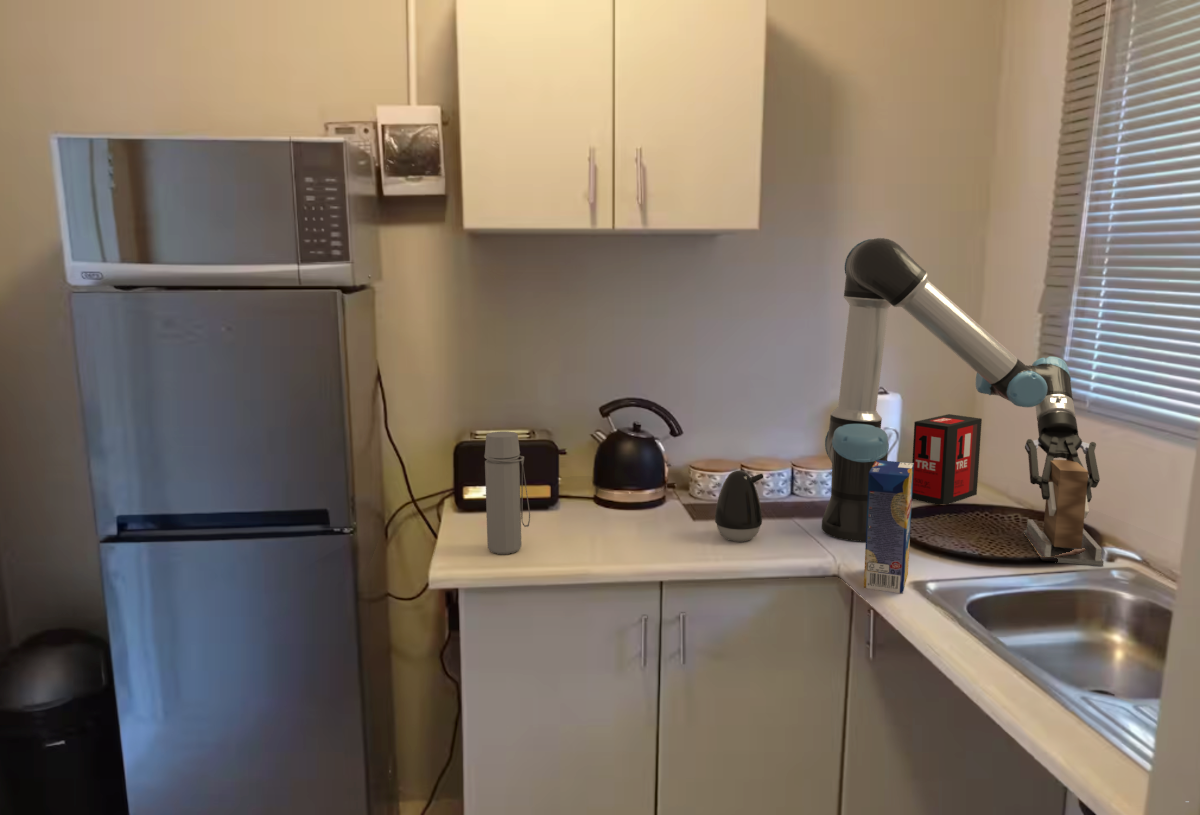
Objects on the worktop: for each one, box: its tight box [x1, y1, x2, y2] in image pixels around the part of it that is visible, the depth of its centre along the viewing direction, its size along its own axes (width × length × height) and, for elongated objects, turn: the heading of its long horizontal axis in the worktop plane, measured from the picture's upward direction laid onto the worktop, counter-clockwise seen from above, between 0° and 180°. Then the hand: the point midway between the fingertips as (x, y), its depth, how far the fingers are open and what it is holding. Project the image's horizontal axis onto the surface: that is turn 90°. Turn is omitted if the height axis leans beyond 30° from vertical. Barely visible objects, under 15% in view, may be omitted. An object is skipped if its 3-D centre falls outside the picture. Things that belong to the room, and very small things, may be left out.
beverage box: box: [863, 460, 914, 594], centre depth 160 cm, size 7×11×22 cm, turn 156°
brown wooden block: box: [1043, 459, 1089, 549], centre depth 177 cm, size 5×10×16 cm, turn 164°
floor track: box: [1023, 519, 1105, 567], centre depth 178 cm, size 11×18×4 cm, turn 164°
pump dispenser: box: [714, 470, 764, 543], centre depth 187 cm, size 10×10×15 cm
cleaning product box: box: [911, 413, 983, 505], centre depth 218 cm, size 16×9×20 cm, turn 129°
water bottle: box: [483, 430, 531, 555], centre depth 179 cm, size 9×8×25 cm
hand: (1068, 513), depth 174 cm, fingers closed on brown wooden block, 5 cm apart
